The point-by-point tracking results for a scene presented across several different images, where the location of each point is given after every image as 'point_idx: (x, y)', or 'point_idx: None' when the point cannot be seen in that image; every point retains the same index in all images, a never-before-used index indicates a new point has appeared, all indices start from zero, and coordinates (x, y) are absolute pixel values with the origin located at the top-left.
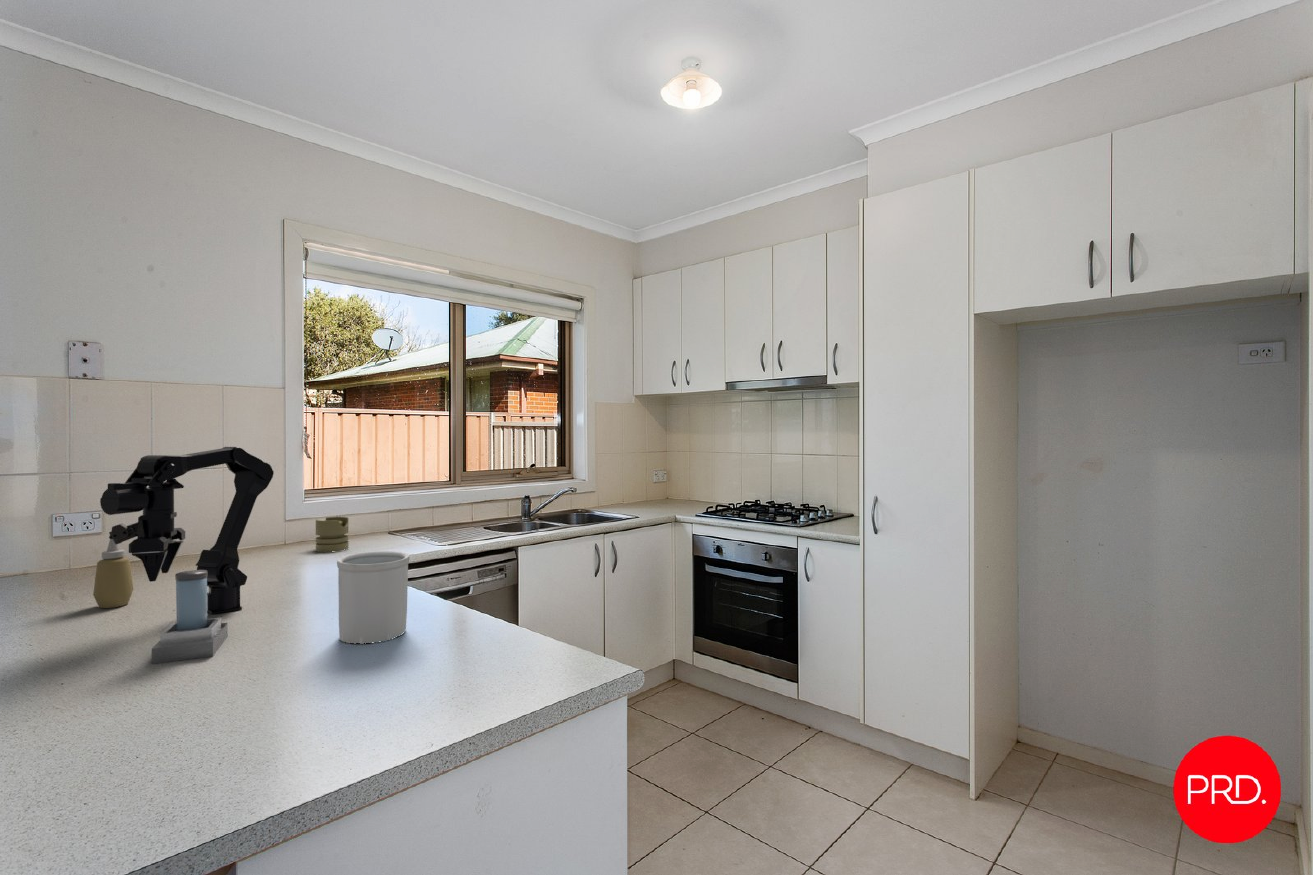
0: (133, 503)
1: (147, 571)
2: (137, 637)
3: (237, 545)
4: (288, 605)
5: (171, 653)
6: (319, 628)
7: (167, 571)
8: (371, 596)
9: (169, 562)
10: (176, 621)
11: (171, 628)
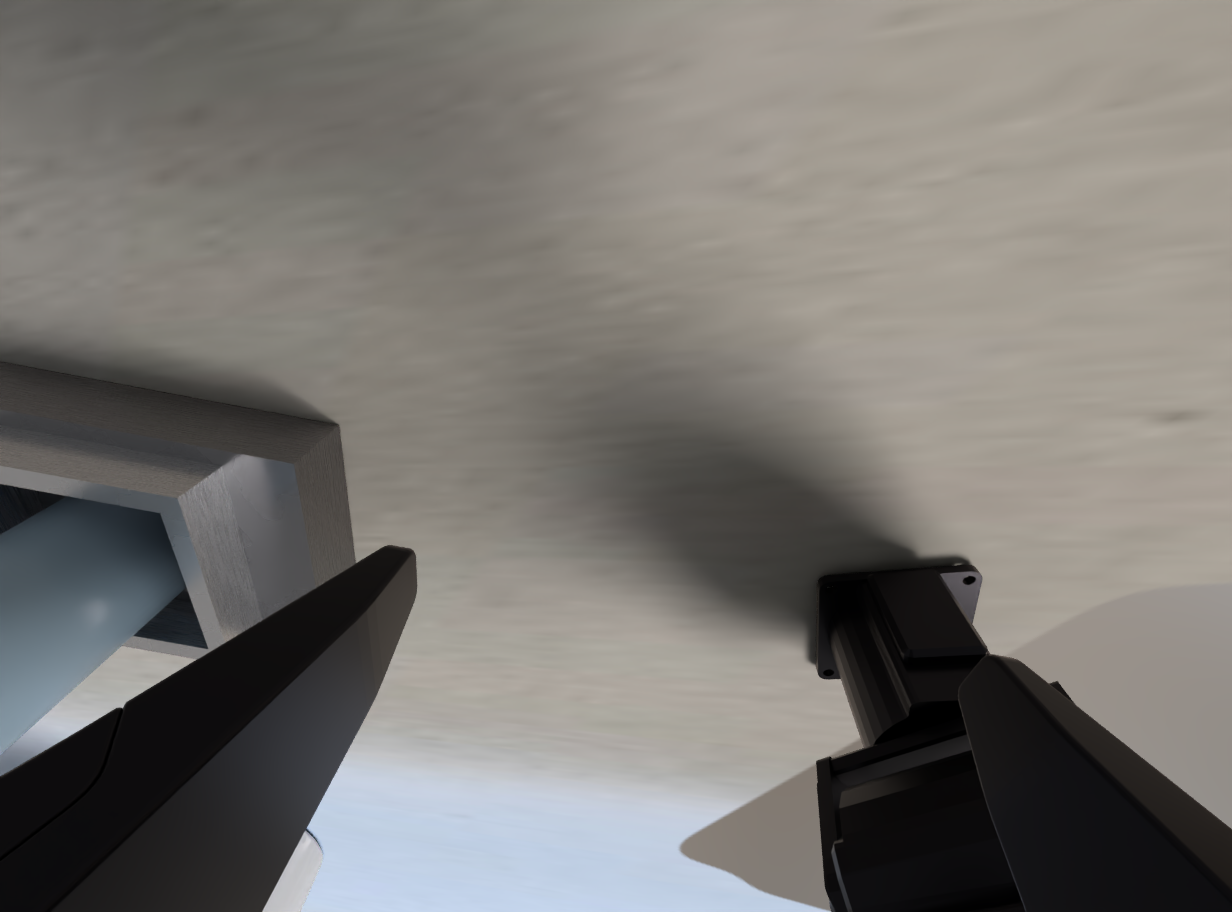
0: None
1: (225, 663)
2: (535, 251)
3: None
4: (755, 776)
5: None
6: (352, 780)
7: (962, 710)
8: None
9: (1043, 882)
10: (3, 538)
11: (63, 490)
